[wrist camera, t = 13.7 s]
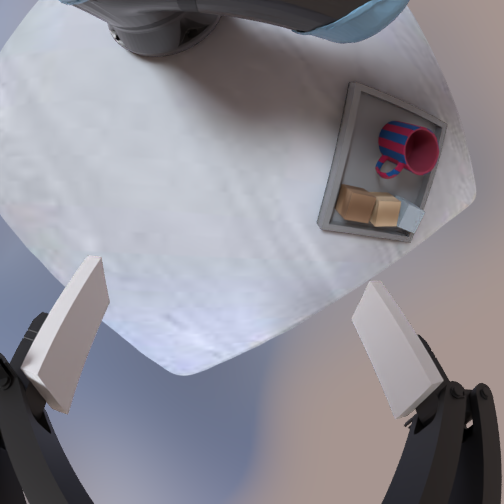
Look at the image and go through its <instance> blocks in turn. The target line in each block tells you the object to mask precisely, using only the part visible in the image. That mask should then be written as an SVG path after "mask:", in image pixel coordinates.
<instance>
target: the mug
mask: <svg viewBox="0 0 504 504" xmlns="http://www.w3.org/2000/svg"><path fill="white" fill-rule="evenodd" d="M378 145H379V149H380V152H381V154H382V156H381V157H380V159H379V160H378V162H377V163H376V166H375V169H376V172H377V174H378V175H379V176H380V177H381V178H384V179H391V178H394V177H396V176H397V175H398V174H399V173H400V172H401V171H402V169H403V168H404V169H406V170H408V171H410V172H412V173H414V174H416V175H425V174H427V173H429V172H430V171H431V170H432V169H433V168H434V167H435V165H436V163H437V161H438V158H439V144H438V140H437V138H436V136H435V134H434V133H433V132H432V131H431V130H430V129H428V128H425V127H421V126H417V125H413V124H409V123H405V122H400V121H391V122H389V123H387V124H386V125H385V126H384V127H383V128H382V129H381V132H380V134H379V139H378ZM387 160H388V161H389V162H392V163H394V164H396V165H397V166H396V168H395V169H393V170H392V171H390V172H388V173H383V172H381V171H380V169H381V167H382V165H383V164H384V163H385V162H386V161H387Z"/></svg>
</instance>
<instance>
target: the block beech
mask: <svg viewBox="0 0 504 504" xmlns="http://www.w3.org/2000/svg"><path fill="white" fill-rule="evenodd" d="M369 193H371V194H372V195H373V196H375V197H376V201H375V204H374V207H373V210H372V213H371V216H370V219H369V221H370V222H371V223H372V224H373V225H374V226H375V227H381V226H397V221H398V216H399V212H400V206H401V201H400V200H398V199H397V198H395V197H394V196H393V195H391V194H390V193H388V192H369Z"/></svg>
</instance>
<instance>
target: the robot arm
mask: <svg viewBox="0 0 504 504" xmlns="http://www.w3.org/2000/svg"><path fill="white" fill-rule="evenodd" d="M59 1H60V2H61V3H64V4H66V5H67V4H68V5H73V6H75V7H77V8H79V9H81V10H83V11H85V12H88V13H90V14H92V15H94V16H96V17H97V18H99V19H101V20H103V21H105V22H107V23H108V27H109V30H110V33H111V35H112V36H113V38H114V39H115V41H116V42H117V43H118V44H119V45H121V46H122V47H123V48H125V49H127V50H129V51H131V52H133V53H136V54H139V55H143V56H151V57H158V56H167V55H171V54H175V53H178V52H181V51H184V50H186V49H188V48H190V47H192V46H194V45H195V44H197V43H198V42H200V41H201V40H203V39H204V38H205V37H206V36H207V35H208V34H209V33H210V32H211V31H212V30H213V29H214V27H215V26H216V25H217V23H218V21H219V19H220V17H221V15H223V16H230V17H237V18H243V19H248V20H253V21H258V22H263V23H267V24H272V25H276V26H280V27H284V28H287V29H291V30H292V31H293V32H295V33H297V34H301V35H312V36H316V37H319V38H322V39H326V40H329V41H332V42H336V43H352V42H353V43H355V42H359V41H362V40H365V39H367V38H369V37H371V36H373V35H375V34H377V33H378V32H380V31H381V30H383V29H384V28H385V27H386V26H388V25H389V24H390V23H391V22H392V21H393V20H394V19H395V18H396V17H397V16H398V15H399V14H400V13H401V12H402V11H403V9H404V8H405V7H406V5H407V4H408V2H409V0H59ZM109 303H110V301H109V296H108V291H107V286H106V281H105V275H104V269H103V263H102V257H98V256H89V255H88V256H87V257H86V258H85V260H84V261H83V263H82V264H81V265H80V267H79V268H78V270H77V271H76V273H75V274H74V275H73V277H72V278H71V280H70V281H69V283H68V284H67V286H66V287H65V289H64V291H63V292H62V294H61V295H60V297H59V298H58V300H57V301H56V303H55V305H54V307H53V308H52V310H51V311H50V313H49V314H48V313H44V312H42V313H41V314H39V315H38V316H37V317H36V318H35V319H34V320H33V321H32V323H31V325H30V327H29V328H28V331H27V332H26V334H25V335H24V339H22V341H21V343H20V345H19V346H18V348H17V350H16V352H15V354H14V356H13V358H12V360H11V362H10V364H9V363H8V361H7V360H6V358H5V357H4V356H3V355H2V354H1V353H0V504H26V501H25V497H24V494H23V491H24V493H25V495H26V497H27V499H28V501H29V503H30V504H94V503H93V501H92V500H91V498H90V497H89V495H88V494H87V492H86V491H85V489H84V487H83V486H82V484H81V483H80V481H79V479H78V477H77V476H76V474H75V472H74V470H73V468H72V467H71V465H70V463H69V461H68V459H67V457H66V455H65V453H64V451H63V449H62V447H61V445H60V443H59V441H58V438H57V436H56V434H55V432H54V429H53V427H52V424H51V422H50V420H49V417H48V414H47V412H46V410H45V409H44V407H45V404H46V402H47V403H48V404H49V406H50V407H51V408H52V409H54V410H57V411H59V412H63V413H65V414H68V413H69V409H70V406H71V402H72V399H73V396H74V393H75V390H76V387H77V384H78V381H79V378H80V375H81V372H82V369H83V367H84V364H85V361H86V358H87V356H88V353H89V350H90V348H91V345H92V343H93V340H94V338H95V335H96V333H97V330H98V328H99V326H100V323H101V321H102V319H103V316H104V314H105V312H106V310H107V307H108V305H109ZM351 320H352V322H353V324H354V326H355V328H356V330H357V333H358V335H359V337H360V339H361V341H362V343H363V345H364V348H365V350H366V352H367V354H368V356H369V359H370V361H371V363H372V365H373V368H374V370H375V372H376V374H377V377H378V379H379V381H380V384H381V386H382V388H383V391H384V393H385V396H386V398H387V401H388V403H389V406H390V408H391V410H392V413H393V416H394V418H395V419H398V418H402V417H405V416H408V415H409V414H410V413H411V412H412V411H413V410H414V409H416V412H417V414H415V415H414V416H413V417H412V418H411V419H410V420H408V421H407V422H406V423H405V425H404V426H405V427H406V426H407V425H409V424H410V423H411V422H412V424H411V425H410V426H409V429H410V431H409V434H408V438H407V441H406V444H405V447H404V450H403V453H402V456H401V459H400V461H399V464H398V467H397V470H396V472H395V474H394V477H393V479H392V482H391V484H390V486H389V489H388V491H387V493H386V495H385V497H384V500H383V502H382V504H501V480H502V479H501V478H502V476H501V451H500V441H499V431H498V423H497V417H496V411H495V405H494V400H493V395H492V393H491V390H490V388H489V387H488V386H487V385H486V384H483V383H479V384H478V385H477V386H476V387H475V388H474V389H473V390H465V389H464V388H463V387H462V385H461V384H459V383H458V382H454V381H451V382H450V381H449V379H448V378H447V376H446V374H445V372H444V371H443V369H442V367H441V365H440V364H439V362H438V360H437V358H435V355H434V353H433V352H432V351H431V348H430V347H429V345H428V344H427V342H426V341H425V340H424V339H423V338H422V337H421V336H420V335H417V334H416V332H415V331H414V329H413V328H412V326H411V325H410V323H409V321H408V320H407V318H406V317H405V315H404V314H403V312H402V311H401V309H400V308H399V306H398V305H397V303H396V302H395V300H394V299H393V297H392V296H391V294H390V293H389V291H388V290H387V289H386V287H385V286H384V284H383V283H382V281H374V280H370V281H369V283H368V285H367V287H366V289H365V292H364V294H363V296H362V298H361V300H360V302H359V304H358V306H357V308H356V310H355V313H354V315H353V316H352V319H351ZM472 419H473V425H472V426H471V427H469V428H467V427H466V424H467V423H468V422H469V421H471V420H472ZM22 489H23V490H22Z"/></svg>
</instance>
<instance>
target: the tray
mask: <svg viewBox="0 0 504 504" xmlns="http://www.w3.org/2000/svg"><path fill="white" fill-rule="evenodd" d="M391 121H400V122H405V123H409V124H413V125H417V126H421V127H425V128H428V129H430V130H431V131H432V132H433V133H434V134H435V136H436V138H437V140H438V144H439V158H440V154H441V150H442V146H443V142H444V138H445V133H446V129H447V124H446V123H445V122H443V121H441V120H439V119H437V118H436V117H434V116H432V115H430V114H428V113H426V112H424V111H422V110H420V109H418V108H416V107H414V106H412V105H410V104H408V103H406V102H404V101H402V100H400V99H397V98H395V97H393V96H391V95H388V94H386V93H383V92H381V91H379V90H376V89H374V88H371V87H368V86H366V85H363V84H360V83H358V82H350V83H349V86H348V92H347V97H346V102H345V107H344V112H343V117H342V121H341V126H340V131H339V135H338V140H337V144H336V149H335V153H334V157H333V161H332V166H331V170H330V174H329V178H328V182H327V186H326V190H325V193H324V197H323V201H322V205H321V209H320V212H319V216H318V220H317V224H318V226H319V227H320V229H323V230H330V231H337V232H344V233H351V234H358V235H365V236H372V237H378V238H385V239H391V240H398V241H404V242H410V243H411V240H412V238H413V235H414V233H412V232H409V231H407V230H405V229H402V228H399V227H398V226H381V227H375V226H374V225H373V224H372V223H371V222H370V221H369V222H368V223H363V222H357V221H351V220H345V219H344V218H343V217H342V216H341V215H340V214H339V213H338V212H337V210H336V209H335V206H336V202H337V198H338V195H339V191H340V188H341V184H346V185H350V186H355V187H359V188H364V189H365V190H367V191H368V192H388V193H390V194H391V195H393V196H394V197H395V196H396V195H397V196H399V197H401V198H404V199H406V200H408V201H410V202H412V203H413V204H415V205H416V206H417V207H419V208H420V209H422V210H423V209H424V206H425V203H426V200H427V198H428V195H429V191H430V188H431V185H432V182H433V179H434V175H435V172H436V169H437V165H438V161H439V158H438V161H437V163H436V165H435V167H434V168H433V169H432V170H431V171H430V172H429V173H427V174H425V175H416V174H414V173H412V172H410V171H408V170H406V169H404V168H403V169H402V171H401V172H400V173H399V174H398V175H397V176H396V177H394V178H391V179H384V178H381V177H380V176H379V175H378V174H377V172H376V169H375V166H376V163H377V162H378V160H379V159H380V157H381V156H382V154H381V152H380V149H379V145H378V139H379V134H380V132H381V129H382V128H383V127H384V126H385V125H386V124H387V123H389V122H391ZM396 166H397V165H396V164H394V163H392V162H389V161H388V160H387V161H386V162H385V163H384V164H383V165H382V167H381V169H380V171H381V172H383V173H388V172H390V171H392V170H393V169H395V168H396Z"/></svg>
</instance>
